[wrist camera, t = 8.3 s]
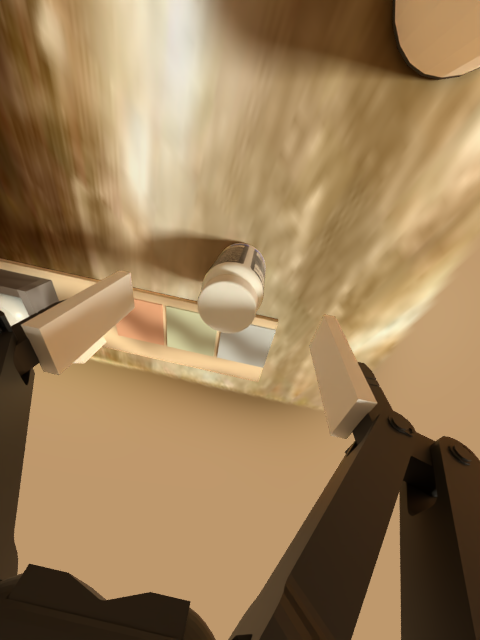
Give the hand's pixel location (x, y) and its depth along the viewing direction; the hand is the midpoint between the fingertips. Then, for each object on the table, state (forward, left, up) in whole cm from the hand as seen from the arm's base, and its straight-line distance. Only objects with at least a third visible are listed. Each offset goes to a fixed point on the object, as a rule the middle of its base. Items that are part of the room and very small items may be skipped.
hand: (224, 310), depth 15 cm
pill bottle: (0, 0, -8) cm, 8 cm away
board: (+10, -12, -8) cm, 17 cm away
